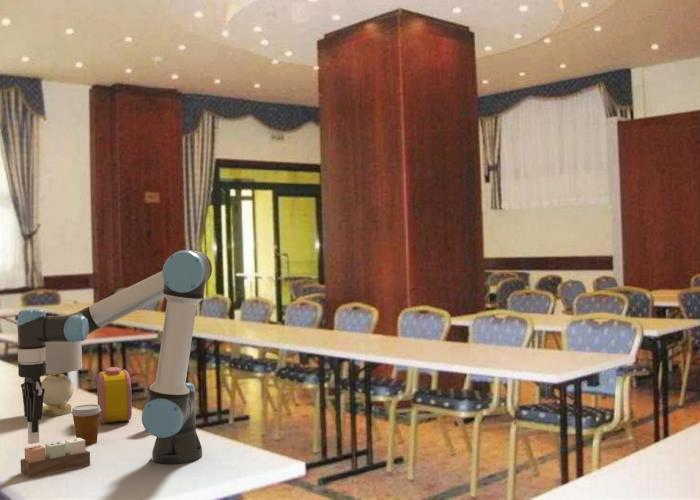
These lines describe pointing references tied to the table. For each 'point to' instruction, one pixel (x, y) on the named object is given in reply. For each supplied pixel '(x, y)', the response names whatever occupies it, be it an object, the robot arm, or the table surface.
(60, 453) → the key two
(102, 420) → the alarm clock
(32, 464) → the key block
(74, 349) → the lamp
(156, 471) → the table surface
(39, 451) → the key three
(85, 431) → the disposable coffee cup
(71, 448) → the key one
